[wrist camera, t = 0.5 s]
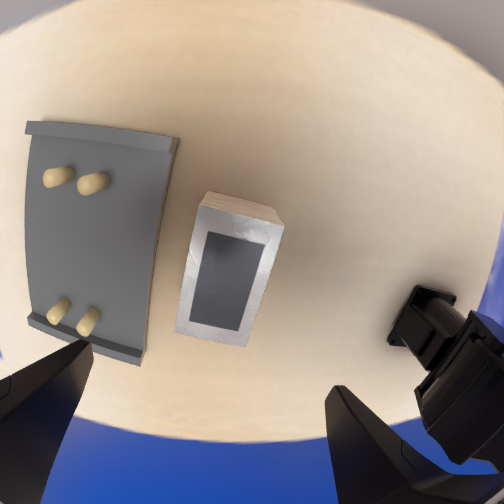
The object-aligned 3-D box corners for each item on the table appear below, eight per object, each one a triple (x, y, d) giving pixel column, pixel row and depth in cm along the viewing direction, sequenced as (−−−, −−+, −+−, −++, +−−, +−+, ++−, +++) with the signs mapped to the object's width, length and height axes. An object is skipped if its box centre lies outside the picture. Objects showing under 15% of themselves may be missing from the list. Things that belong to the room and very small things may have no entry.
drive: (272, 206, 19) (285, 227, 14) (242, 305, 21) (245, 348, 17) (208, 190, 18) (198, 205, 13) (185, 293, 21) (174, 333, 16)
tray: (178, 138, 17) (166, 136, 13) (145, 351, 23) (135, 378, 19) (42, 121, 15) (14, 120, 12) (38, 314, 21) (21, 333, 18)
